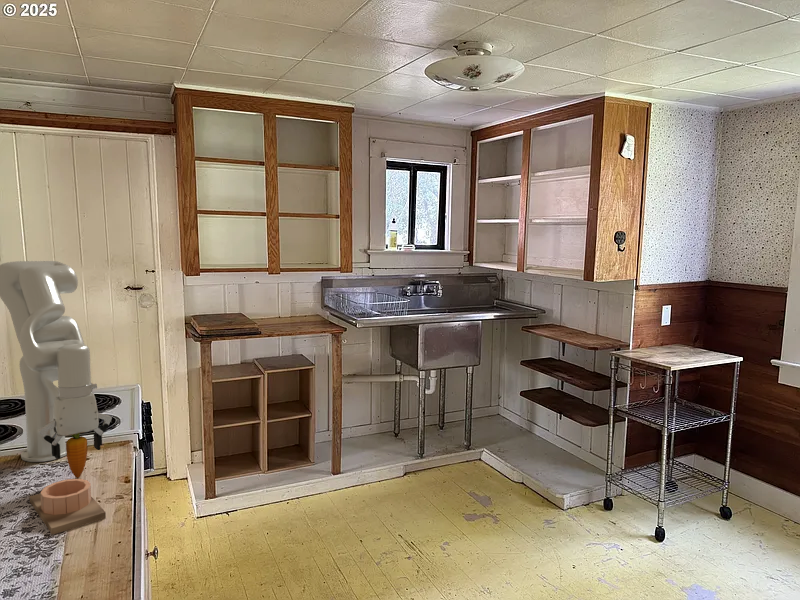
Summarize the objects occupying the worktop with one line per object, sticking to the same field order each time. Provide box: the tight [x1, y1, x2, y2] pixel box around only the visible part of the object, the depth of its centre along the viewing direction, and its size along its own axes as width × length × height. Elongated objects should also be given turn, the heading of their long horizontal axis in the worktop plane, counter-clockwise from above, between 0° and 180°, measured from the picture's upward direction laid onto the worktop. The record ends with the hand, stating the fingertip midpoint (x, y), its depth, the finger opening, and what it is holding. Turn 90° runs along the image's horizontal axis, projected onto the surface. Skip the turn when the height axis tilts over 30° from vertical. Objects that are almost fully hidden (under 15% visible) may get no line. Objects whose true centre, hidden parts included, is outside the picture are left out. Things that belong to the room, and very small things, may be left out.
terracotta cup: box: [40, 478, 92, 515], centre depth 133 cm, size 10×10×4 cm
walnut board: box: [29, 492, 106, 536], centre depth 133 cm, size 20×11×2 cm, turn 45°
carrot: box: [65, 433, 88, 479], centre depth 149 cm, size 5×5×15 cm
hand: (77, 453), depth 149 cm, fingers open, 9 cm apart
